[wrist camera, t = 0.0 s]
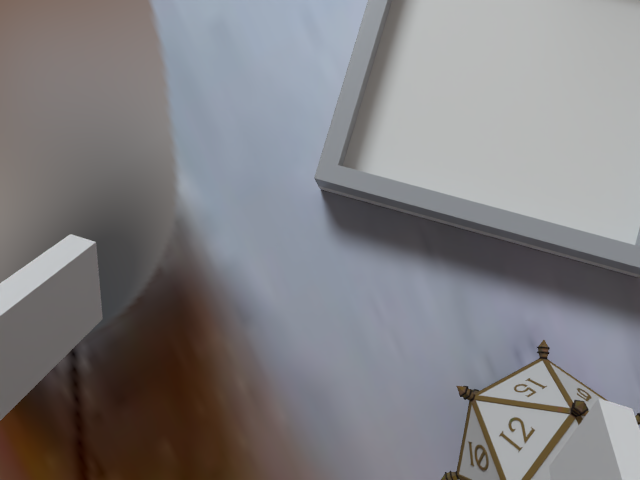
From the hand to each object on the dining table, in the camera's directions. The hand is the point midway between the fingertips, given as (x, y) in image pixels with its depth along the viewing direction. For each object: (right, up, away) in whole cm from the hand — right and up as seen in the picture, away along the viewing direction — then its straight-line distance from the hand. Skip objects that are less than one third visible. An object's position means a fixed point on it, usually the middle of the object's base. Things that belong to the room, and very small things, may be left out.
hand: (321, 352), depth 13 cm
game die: (+11, -7, +14) cm, 19 cm away
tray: (+11, +11, +15) cm, 22 cm away
